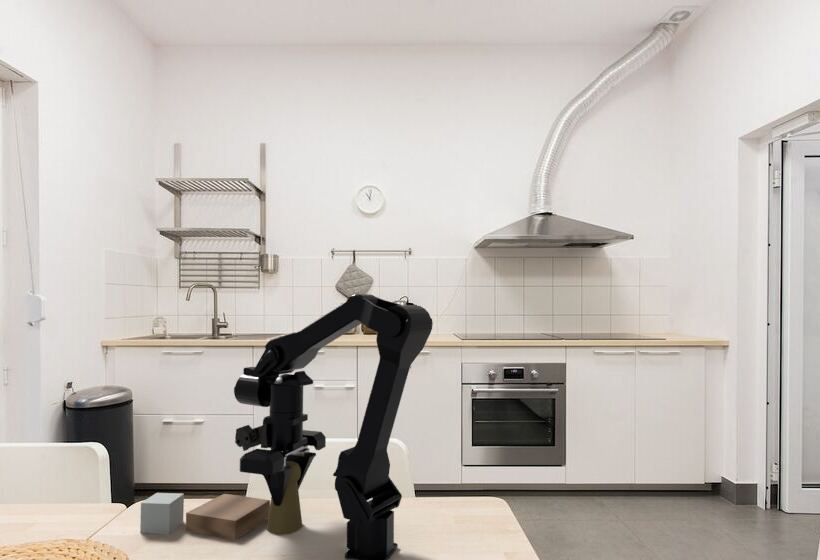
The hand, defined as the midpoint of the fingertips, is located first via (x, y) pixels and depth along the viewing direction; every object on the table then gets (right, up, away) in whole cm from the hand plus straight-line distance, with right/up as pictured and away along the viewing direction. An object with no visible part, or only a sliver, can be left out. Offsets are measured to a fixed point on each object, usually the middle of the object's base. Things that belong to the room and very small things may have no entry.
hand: (285, 500), depth 95 cm
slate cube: (-21, -5, 0) cm, 22 cm away
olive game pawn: (0, -5, 0) cm, 5 cm away
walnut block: (-10, -5, +1) cm, 11 cm away
